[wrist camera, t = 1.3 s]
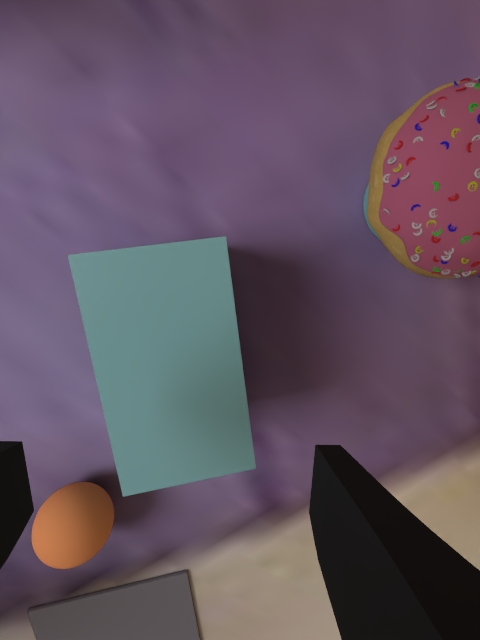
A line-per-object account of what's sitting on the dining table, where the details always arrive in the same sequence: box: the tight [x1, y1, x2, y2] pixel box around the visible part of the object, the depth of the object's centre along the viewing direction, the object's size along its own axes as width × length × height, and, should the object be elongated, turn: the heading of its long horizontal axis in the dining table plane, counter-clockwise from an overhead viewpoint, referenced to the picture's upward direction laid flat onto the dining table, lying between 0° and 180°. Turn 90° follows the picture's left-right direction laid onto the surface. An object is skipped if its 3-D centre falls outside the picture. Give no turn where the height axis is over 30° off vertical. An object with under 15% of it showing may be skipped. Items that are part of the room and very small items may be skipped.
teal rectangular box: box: [68, 236, 256, 497], centre depth 15 cm, size 6×10×6 cm, turn 7°
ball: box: [32, 482, 114, 569], centre depth 17 cm, size 4×4×4 cm
